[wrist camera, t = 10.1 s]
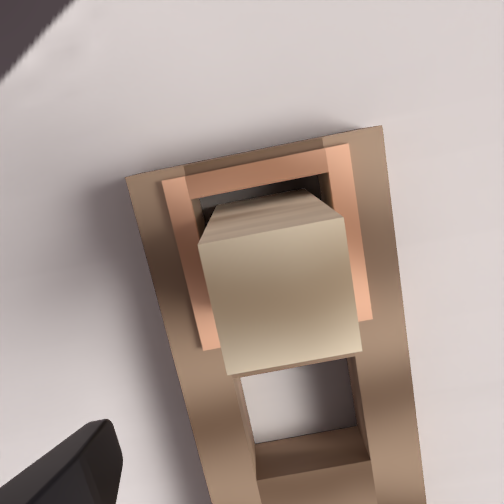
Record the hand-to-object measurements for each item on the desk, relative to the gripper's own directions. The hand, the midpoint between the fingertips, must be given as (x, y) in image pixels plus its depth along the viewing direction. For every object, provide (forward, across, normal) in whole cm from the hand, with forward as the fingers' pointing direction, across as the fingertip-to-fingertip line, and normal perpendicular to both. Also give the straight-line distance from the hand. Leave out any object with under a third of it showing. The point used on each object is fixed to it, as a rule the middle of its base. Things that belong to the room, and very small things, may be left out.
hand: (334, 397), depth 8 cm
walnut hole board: (+12, +1, +7) cm, 14 cm away
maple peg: (+12, +1, -1) cm, 12 cm away
